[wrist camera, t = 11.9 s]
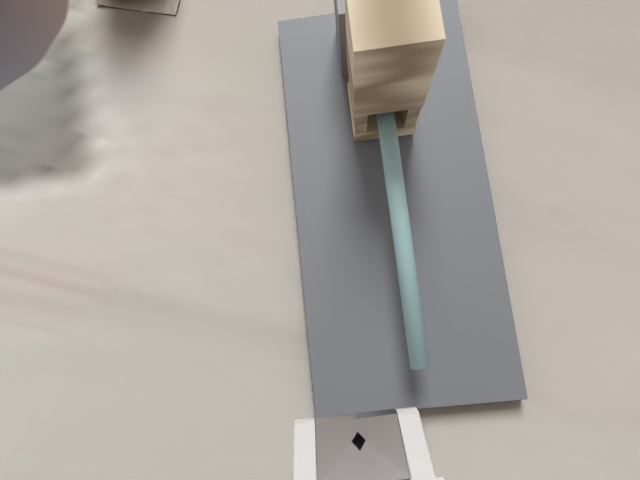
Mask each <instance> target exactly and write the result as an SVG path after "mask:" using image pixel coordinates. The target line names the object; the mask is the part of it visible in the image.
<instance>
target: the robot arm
mask: <svg viewBox="0 0 640 480" xmlns="http://www.w3.org/2000/svg"><path fill="white" fill-rule="evenodd" d="M293 480H445V479H444V478H443V477H436V475H435V471H434V468H433V464H432V460H431V456H430V452H429V448H428V445H427V441H426V437H425V433H424V429H423V425H422V422H421V418H420V414H419V411H418V410H417V408H416V407H407V408H399V409H387V410H379V411H370V412H362V413H355V414H347V415H337V416H328V417H318V418H315V417H314V418H305V419H297V420H295V421H294V427H293Z"/></svg>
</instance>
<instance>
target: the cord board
mask: <svg viewBox="0 0 640 480" xmlns="http://www.w3.org/2000/svg"><path fill="white" fill-rule="evenodd" d="M439 1H440V7H441V13H442V19H443V25H444V31H445V37H446V40H445V43H444V46H443V49H442V52H441V55H440V58H439V61H438V64H437V67H436V70H435V73H434V76H433V79H432V82H431V85H430V88H429V91H428V94H427V97H426V100H425V102H424V105H423V108H421V110H420V113H419V116H418V119H417V122H416V125H417V126H416V129H415V132H414V134H412V135H404V136H398V135H397V128H396V121H395V114H394V112H388V113H381V114H376V116H377V123H378V131H379V138H380V139H373V140H365V141H357V142H354V139H353V130H352V122H351V114H350V106H349V98H348V82H349V74H348V66H347V50H346V18H345V0H334V5H335V13H333V14H326V15H319V16H312V17H306V18H299V19H292V20H285V21H278V27H279V38H280V49H281V59H282V70H283V80H284V91H285V101H286V112H287V122H288V133H289V143H290V154H291V164H292V175H293V185H294V196H295V206H296V217H297V227H298V238H299V248H300V259H301V270H302V280H303V291H304V301H305V312H306V322H307V333H308V343H309V354H310V364H311V375H312V385H313V396H314V406H315V417H316V418H318V417H328V416H337V415H347V414H355V413H362V412H370V411H379V410H387V409H399V408H407V407H416V408H417V409H422V408H433V407H444V406H455V405H467V404H478V403H489V402H501V401H512V400H523V399H527V393H526V388H525V382H524V376H523V371H522V365H521V360H520V354H519V348H518V343H517V337H516V331H515V326H514V320H513V314H512V309H511V303H510V298H509V292H508V286H507V281H506V275H505V269H504V264H503V258H502V253H501V247H500V241H499V236H498V230H497V224H496V219H495V213H494V208H493V202H492V196H491V191H490V185H489V179H488V174H487V168H486V163H485V157H484V151H483V146H482V140H481V134H480V129H479V123H478V118H477V112H476V106H475V101H474V95H473V89H472V84H471V78H470V73H469V67H468V61H467V56H466V50H465V44H464V39H463V33H462V27H461V22H460V16H459V11H458V5H457V0H439Z"/></svg>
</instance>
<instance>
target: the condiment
mask: <svg viewBox="0 0 640 480" xmlns="http://www.w3.org/2000/svg"><path fill="white" fill-rule="evenodd" d="M179 1H180V0H96V3H95V4H99V5H105V6H110V7H116V8H123V9H130V10H138V11H142V12H155V13H161V14H163V13H165V14H173V15H176V12H177V7H178V4H179Z"/></svg>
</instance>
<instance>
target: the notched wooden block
mask: <svg viewBox="0 0 640 480" xmlns="http://www.w3.org/2000/svg"><path fill="white" fill-rule="evenodd" d="M345 18H346V50H347V66H348V74H349V82H348V98H349V106H350V114H351V122H352V130H353V139H354V142H357V141H365V140H373V139H380V138H379V131H378V123H377V116H376V114H381V113H388V112H394V114H395V121H396V128H397V135H398V136H404V135H412V134H414V132H415V129H416V126H417V125H416V122H417V119H418V116H419V113H420V110H421V108H423V105H424V102H425V100H426V97H427V94H428V91H429V88H430V85H431V82H432V79H433V76H434V73H435V70H436V67H437V64H438V61H439V58H440V55H441V52H442V49H443V46H444V43H445V40H446V37H445V31H444V25H443V19H442V13H441V7H440V1H439V0H345Z"/></svg>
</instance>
